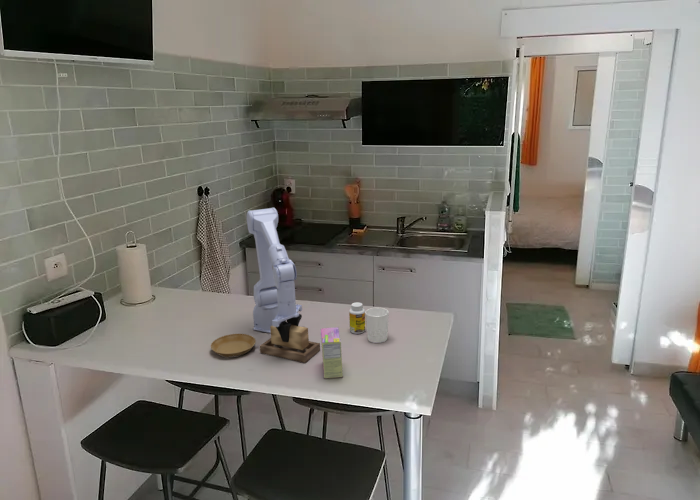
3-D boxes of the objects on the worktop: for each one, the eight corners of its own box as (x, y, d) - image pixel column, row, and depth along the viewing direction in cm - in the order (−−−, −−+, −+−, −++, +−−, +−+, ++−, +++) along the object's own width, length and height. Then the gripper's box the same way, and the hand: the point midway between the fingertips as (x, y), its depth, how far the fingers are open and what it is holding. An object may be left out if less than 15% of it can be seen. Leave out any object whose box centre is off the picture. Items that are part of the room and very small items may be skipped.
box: (322, 362, 169) (320, 328, 166) (340, 361, 170) (338, 326, 166) (323, 379, 159) (321, 342, 156) (342, 377, 160) (341, 341, 156)
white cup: (392, 336, 186) (391, 309, 183) (384, 345, 179) (383, 317, 176) (371, 332, 189) (370, 306, 186) (362, 341, 182) (361, 314, 180)
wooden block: (271, 343, 177) (270, 326, 175) (278, 338, 180) (277, 322, 179) (302, 350, 172) (301, 332, 170) (309, 344, 175) (307, 327, 174)
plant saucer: (265, 345, 183) (264, 338, 182) (236, 364, 170) (235, 356, 170) (231, 337, 190) (230, 330, 189) (201, 355, 177) (201, 347, 177)
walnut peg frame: (260, 353, 177) (259, 345, 176) (276, 341, 185) (275, 334, 184) (305, 363, 169) (304, 355, 168) (320, 350, 177) (319, 343, 176)
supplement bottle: (355, 335, 187) (354, 308, 184) (346, 330, 191) (345, 303, 189) (368, 331, 190) (367, 304, 187) (359, 326, 194) (358, 300, 191)
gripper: (284, 309, 164) (287, 350, 168) (309, 293, 176) (311, 331, 180) (265, 306, 167) (268, 346, 171) (290, 291, 179) (293, 328, 183)
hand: (289, 338), depth 176 cm, fingers closed on wooden block, 4 cm apart
